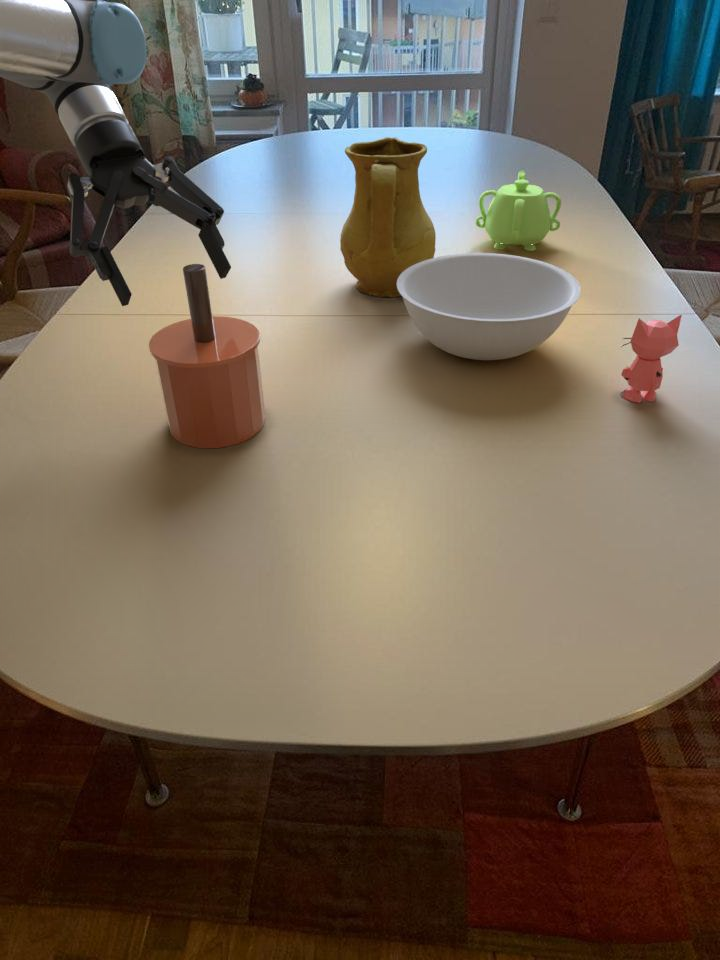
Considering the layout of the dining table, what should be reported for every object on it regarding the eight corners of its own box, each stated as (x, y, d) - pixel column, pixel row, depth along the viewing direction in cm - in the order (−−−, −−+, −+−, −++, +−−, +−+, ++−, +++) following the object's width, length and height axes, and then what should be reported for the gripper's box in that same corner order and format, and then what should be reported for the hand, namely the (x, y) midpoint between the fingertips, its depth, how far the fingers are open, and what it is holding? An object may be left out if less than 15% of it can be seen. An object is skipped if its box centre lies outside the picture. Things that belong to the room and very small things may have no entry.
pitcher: (453, 277, 138) (454, 134, 123) (399, 315, 127) (392, 163, 112) (379, 262, 147) (371, 127, 132) (321, 297, 136) (305, 154, 120)
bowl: (565, 396, 102) (577, 330, 96) (376, 374, 108) (376, 310, 103) (574, 318, 123) (584, 260, 118) (415, 303, 130) (417, 247, 124)
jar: (159, 448, 93) (142, 366, 86) (180, 399, 103) (166, 322, 97) (258, 448, 93) (248, 365, 86) (269, 398, 103) (262, 321, 96)
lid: (138, 373, 86) (119, 289, 80) (164, 325, 97) (150, 248, 91) (253, 372, 86) (243, 288, 80) (266, 324, 97) (259, 247, 91)
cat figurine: (653, 383, 105) (672, 303, 98) (677, 407, 99) (700, 324, 92) (606, 388, 104) (622, 307, 97) (628, 412, 99) (647, 329, 92)
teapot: (463, 237, 159) (467, 176, 152) (516, 226, 164) (522, 167, 157) (509, 259, 147) (515, 194, 140) (564, 247, 153) (573, 183, 145)
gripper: (185, 141, 101) (254, 276, 101) (0, 172, 89) (77, 327, 88) (198, 103, 95) (272, 248, 94) (0, 131, 82) (84, 297, 82)
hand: (178, 286), depth 91 cm, fingers open, 13 cm apart
